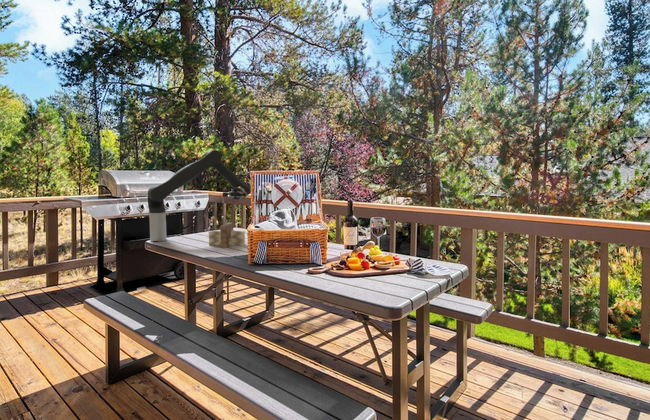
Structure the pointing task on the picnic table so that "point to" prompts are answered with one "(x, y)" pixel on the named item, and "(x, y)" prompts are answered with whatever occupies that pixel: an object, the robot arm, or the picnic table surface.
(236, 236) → the birch board
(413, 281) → the picnic table surface
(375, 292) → the picnic table surface
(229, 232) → the brown wooden slab
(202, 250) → the picnic table surface
